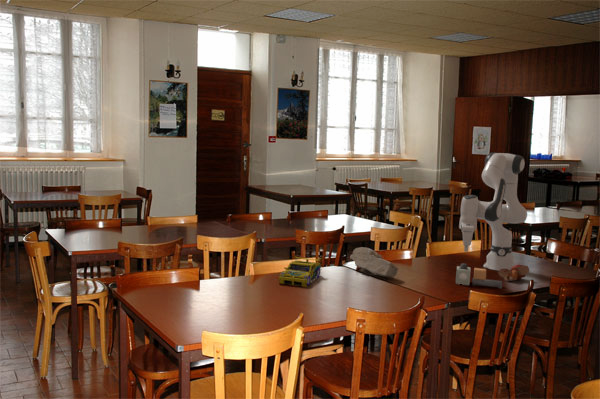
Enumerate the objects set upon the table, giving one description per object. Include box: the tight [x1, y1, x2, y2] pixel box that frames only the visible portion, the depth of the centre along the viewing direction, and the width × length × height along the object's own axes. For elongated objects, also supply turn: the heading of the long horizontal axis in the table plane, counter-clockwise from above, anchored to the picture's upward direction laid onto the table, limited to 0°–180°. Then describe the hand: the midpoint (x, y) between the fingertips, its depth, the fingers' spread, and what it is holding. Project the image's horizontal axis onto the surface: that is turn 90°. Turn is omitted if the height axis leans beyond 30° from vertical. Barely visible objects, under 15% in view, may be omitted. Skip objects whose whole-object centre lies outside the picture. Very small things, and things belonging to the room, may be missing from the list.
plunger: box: [460, 263, 468, 270], centre depth 314 cm, size 3×3×5 cm
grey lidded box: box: [455, 265, 471, 286], centre depth 314 cm, size 8×7×8 cm
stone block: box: [349, 246, 399, 278], centre depth 327 cm, size 34×10×15 cm
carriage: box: [473, 267, 487, 284], centre depth 312 cm, size 5×6×7 cm
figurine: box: [497, 264, 530, 282], centre depth 326 cm, size 20×9×15 cm
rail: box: [471, 277, 503, 289], centre depth 312 cm, size 6×15×3 cm, turn 75°
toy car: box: [278, 255, 322, 288], centre depth 307 cm, size 16×27×10 cm, turn 163°
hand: (465, 251), depth 313 cm, fingers closed
